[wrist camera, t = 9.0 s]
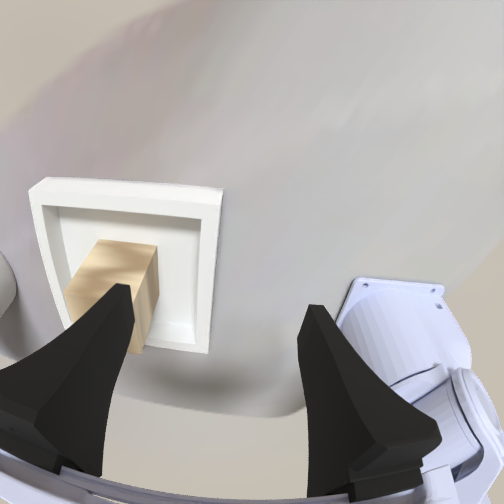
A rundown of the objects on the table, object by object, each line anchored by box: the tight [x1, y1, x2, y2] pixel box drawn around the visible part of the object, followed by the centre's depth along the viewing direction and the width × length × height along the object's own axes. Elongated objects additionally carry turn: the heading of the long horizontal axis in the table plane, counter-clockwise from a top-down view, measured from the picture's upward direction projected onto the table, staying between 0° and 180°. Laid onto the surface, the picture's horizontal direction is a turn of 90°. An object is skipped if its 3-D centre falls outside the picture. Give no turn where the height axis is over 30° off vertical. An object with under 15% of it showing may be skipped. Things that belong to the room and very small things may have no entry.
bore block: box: [63, 239, 160, 355], centre depth 19 cm, size 4×4×6 cm
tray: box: [28, 177, 224, 354], centre depth 21 cm, size 13×13×2 cm
